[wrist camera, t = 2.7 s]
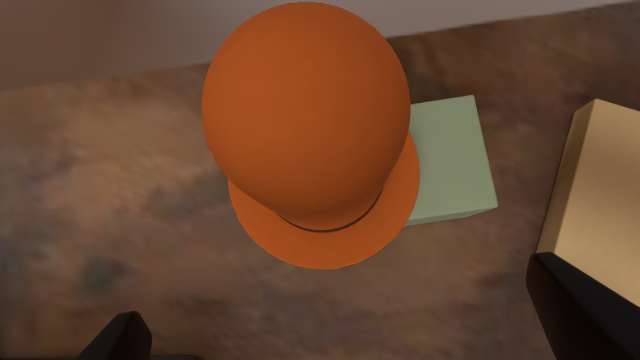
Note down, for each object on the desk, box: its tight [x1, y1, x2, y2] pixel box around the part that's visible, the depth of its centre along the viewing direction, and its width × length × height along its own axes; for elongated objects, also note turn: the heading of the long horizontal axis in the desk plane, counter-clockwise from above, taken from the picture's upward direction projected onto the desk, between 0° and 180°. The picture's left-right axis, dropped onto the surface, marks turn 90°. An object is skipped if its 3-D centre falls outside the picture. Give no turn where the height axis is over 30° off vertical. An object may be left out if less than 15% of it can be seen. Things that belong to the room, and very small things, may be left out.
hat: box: [202, 2, 420, 269], centre depth 13 cm, size 8×8×10 cm
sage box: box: [404, 95, 498, 226], centre depth 20 cm, size 5×9×4 cm, turn 98°
